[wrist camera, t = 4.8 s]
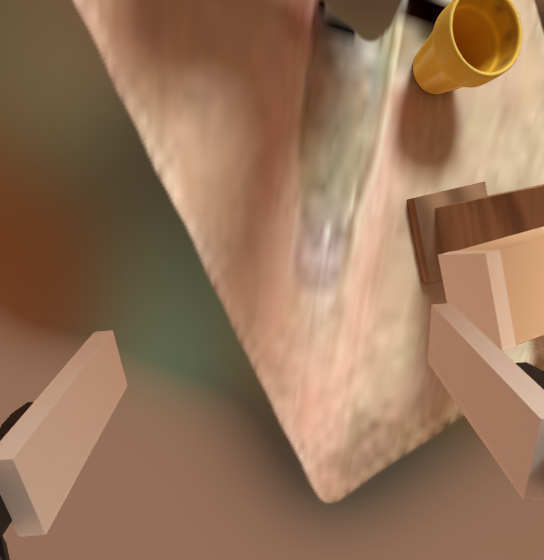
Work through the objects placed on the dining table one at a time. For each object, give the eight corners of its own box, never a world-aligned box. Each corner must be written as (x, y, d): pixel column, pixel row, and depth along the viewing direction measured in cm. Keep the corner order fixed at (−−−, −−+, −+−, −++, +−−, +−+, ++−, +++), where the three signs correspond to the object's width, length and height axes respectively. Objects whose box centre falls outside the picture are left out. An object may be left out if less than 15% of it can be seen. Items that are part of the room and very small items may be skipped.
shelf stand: (375, 304, 53) (627, 355, 24) (354, 204, 51) (596, 128, 22) (511, 263, 58) (847, 263, 30) (496, 172, 57) (834, 79, 28)
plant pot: (386, 77, 52) (435, 36, 42) (421, 16, 53) (476, -38, 43) (442, 123, 54) (499, 94, 45) (474, 64, 55) (536, 23, 46)
